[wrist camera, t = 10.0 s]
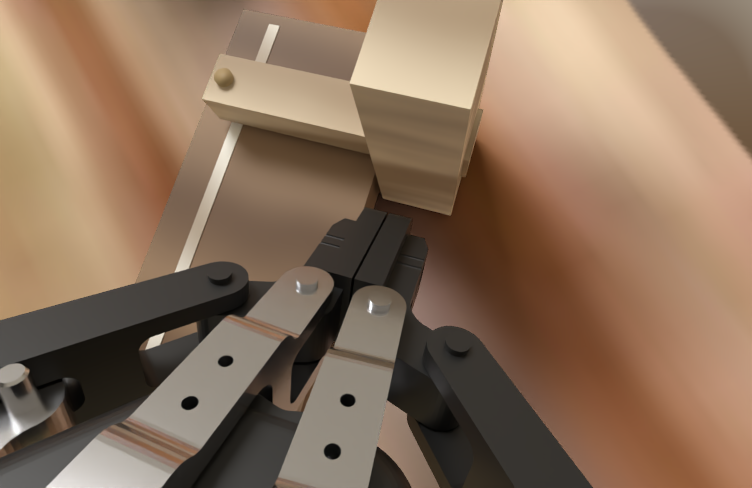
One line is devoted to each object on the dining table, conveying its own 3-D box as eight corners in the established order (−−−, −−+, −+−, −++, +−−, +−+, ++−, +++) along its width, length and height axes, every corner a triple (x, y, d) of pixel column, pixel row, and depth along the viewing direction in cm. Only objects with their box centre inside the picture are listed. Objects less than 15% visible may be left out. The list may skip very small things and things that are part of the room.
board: (277, 522, 18) (258, 544, 16) (99, 454, 19) (62, 466, 17) (416, 69, 22) (415, 42, 20) (258, 37, 23) (243, 8, 21)
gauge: (455, 216, 20) (479, 111, 11) (231, 160, 21) (96, 29, 12) (478, 131, 20) (518, -33, 12) (260, 83, 22) (151, -92, 13)
